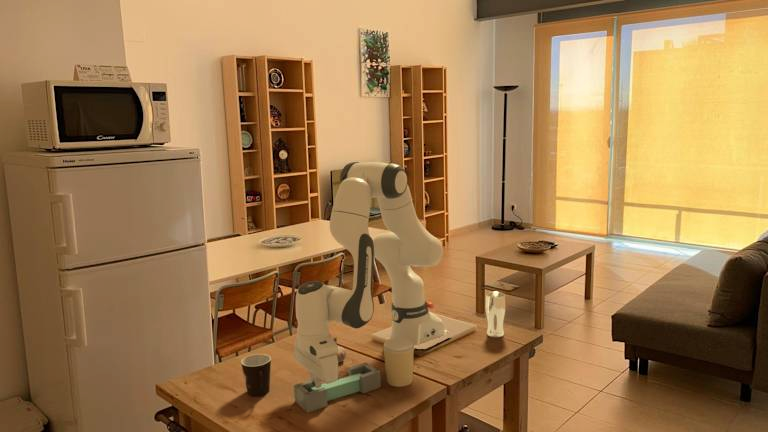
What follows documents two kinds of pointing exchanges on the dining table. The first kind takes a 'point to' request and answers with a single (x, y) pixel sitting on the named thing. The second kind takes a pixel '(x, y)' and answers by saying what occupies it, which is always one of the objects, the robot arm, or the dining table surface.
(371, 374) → the cap
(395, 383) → the coffee cup
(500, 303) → the beer glass
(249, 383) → the coffee mug
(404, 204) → the robot arm
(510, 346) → the dining table surface
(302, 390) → the cap
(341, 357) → the garlic bulb
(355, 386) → the slat
